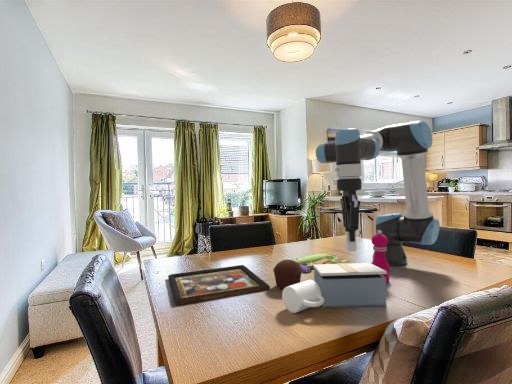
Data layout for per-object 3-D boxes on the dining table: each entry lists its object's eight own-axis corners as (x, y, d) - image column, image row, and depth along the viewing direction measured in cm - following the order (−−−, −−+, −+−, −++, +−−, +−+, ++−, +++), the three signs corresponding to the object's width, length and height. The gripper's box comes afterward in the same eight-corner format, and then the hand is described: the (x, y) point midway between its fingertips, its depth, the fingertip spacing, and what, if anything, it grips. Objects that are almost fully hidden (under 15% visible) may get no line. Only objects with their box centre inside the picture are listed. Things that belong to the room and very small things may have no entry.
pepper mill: (389, 277, 118) (388, 228, 117) (391, 283, 111) (390, 231, 110) (370, 276, 120) (369, 228, 119) (371, 282, 113) (369, 231, 112)
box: (369, 289, 105) (369, 265, 105) (386, 306, 91) (385, 278, 91) (314, 291, 106) (313, 267, 106) (322, 307, 92) (321, 279, 92)
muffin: (295, 294, 104) (294, 266, 104) (268, 289, 110) (267, 263, 110) (307, 283, 114) (306, 258, 114) (282, 279, 120) (281, 255, 120)
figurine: (352, 272, 127) (352, 259, 127) (292, 274, 127) (291, 261, 127) (340, 261, 146) (340, 250, 146) (287, 263, 146) (287, 251, 146)
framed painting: (178, 312, 94) (177, 303, 93) (159, 281, 125) (159, 275, 125) (278, 289, 111) (277, 282, 111) (240, 268, 142) (240, 262, 142)
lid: (369, 265, 105) (369, 262, 105) (387, 274, 91) (386, 270, 91) (313, 266, 106) (312, 264, 106) (321, 275, 91) (321, 272, 91)
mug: (282, 308, 93) (281, 283, 93) (304, 300, 99) (303, 276, 98) (309, 322, 83) (309, 294, 83) (332, 312, 89) (331, 286, 89)
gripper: (332, 178, 99) (334, 246, 100) (342, 178, 86) (345, 256, 87) (354, 177, 99) (356, 245, 100) (368, 177, 86) (370, 255, 87)
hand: (351, 250), depth 94 cm, fingers closed
